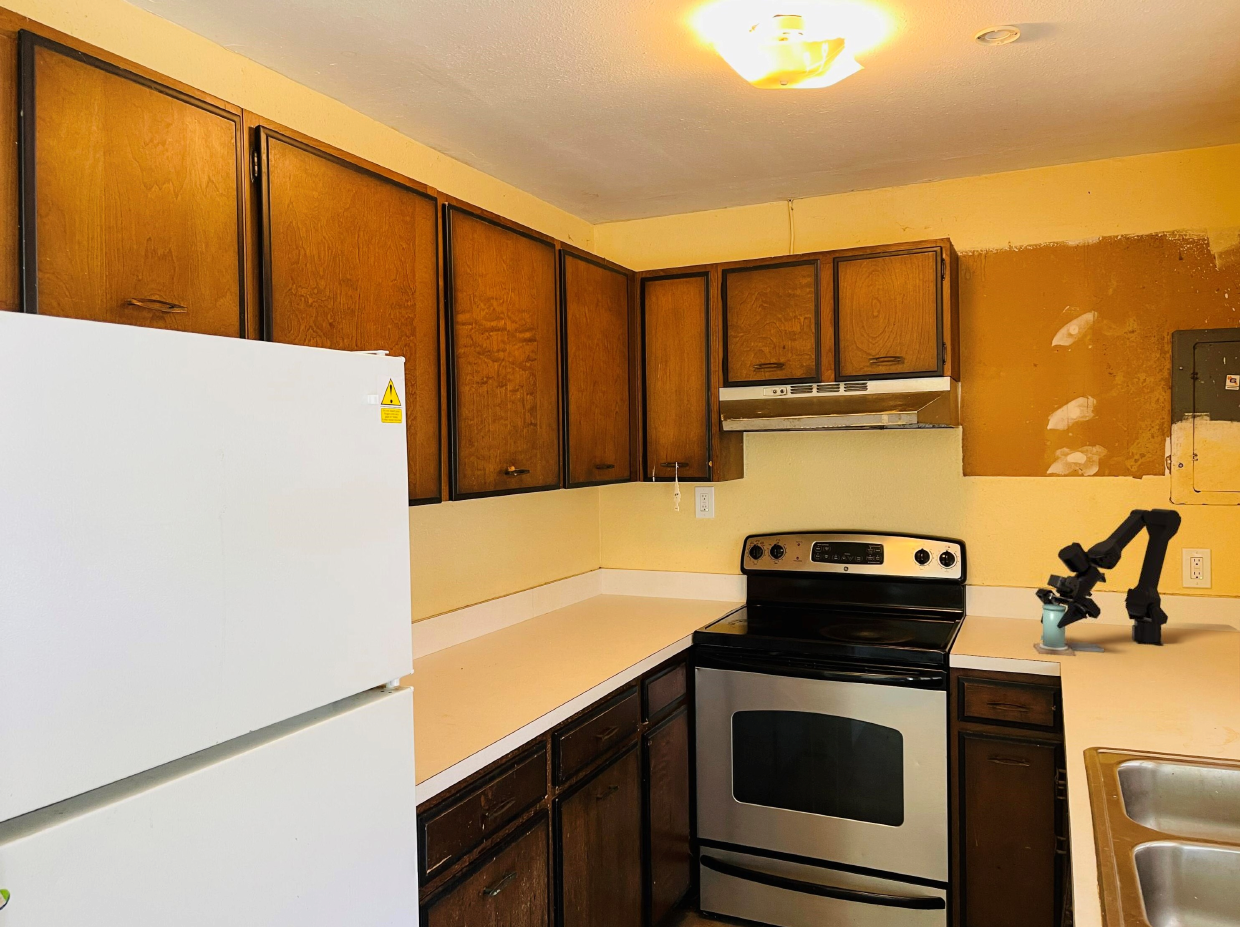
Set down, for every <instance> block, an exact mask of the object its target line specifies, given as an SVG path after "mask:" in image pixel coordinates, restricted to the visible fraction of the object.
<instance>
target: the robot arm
mask: <svg viewBox="0 0 1240 927" xmlns="http://www.w3.org/2000/svg"><path fill="white" fill-rule="evenodd" d="M1181 524H1182V516H1181V515H1180V514H1179V512H1178V510H1176V509H1166V508H1165V509H1164V508H1152V509H1150V510H1149V509H1141V508H1135V509H1132V510H1131V511H1130V513H1129V514H1128V516H1127V517H1126V518H1125V519H1124V521H1122V522H1121V524H1119V526H1117V528H1116V529H1115V530H1114V531H1113V532H1112V533H1111V534H1110V535H1109V536H1108V537H1107V538H1105V539H1104V540H1102V541H1099V542H1097V543H1095V544H1093V546H1091V547H1089V549H1087V551H1086V550H1084V548H1083V547H1082V545H1081V543H1080V542H1077V541H1076V542H1074V541H1073V542H1072V543H1071V544H1069V545H1067V546H1065V547H1063V548H1061V549H1060V550H1059V551H1058V553H1057V557H1058V559H1059V560H1060V561H1061V562H1062V564H1063V565H1064V567H1066V568H1067V569H1068V571H1069V572H1070V573H1074V575H1067V576H1062V575H1058V574H1054V573H1052V574H1050V575H1049V579H1048V581H1047V583H1046V584H1047V586H1048V587H1052V588H1054V589H1055V592H1054V591H1053V590H1052V589H1049V588H1044V587H1042V588H1041V587H1039V588H1038V589H1037V591H1036V592H1035V593H1034V595H1035V596H1036V597H1037V598H1038V599H1039V600H1040V602H1041V603H1042V605H1045V604H1054V605H1062V606H1065V607H1066V610H1065V614H1064V615H1063V617H1062V618H1061V619H1060V621H1059V623H1058V625H1057V627H1058V628H1059V629H1060V628H1062V627H1065V628H1066V627H1067V626H1069V625H1071V624H1074V623H1077V622H1079V621H1081V620H1084V619H1086V620H1087V619H1088V618H1091V619H1095V620H1097V619H1098V618H1099V617H1100V615H1101V607H1099V605H1098V603H1096V602H1095V601H1094V600H1093V598H1091V597H1092V596H1093V593H1092V592H1091V591H1092V590H1093V589H1094V587H1095V586H1096V584H1098V583H1103V584H1106V583H1107V578H1106V573H1105V572H1101V570H1102V569H1104V570H1108V571H1109V570H1110V571H1111V570H1113V569H1114V568H1116V567H1117V565H1118V563H1119V562H1120V560H1121V559H1122V554H1123V553H1122V552H1123V550H1124V549H1126V547H1127V546H1128V545H1129V544H1130V543H1131V542H1132V541H1133V539H1135V538H1136V536H1138V535H1139V533H1141V531H1142V530H1143V529H1144V528H1145V529H1146V532H1147V534H1148V541H1147V544H1146V549H1145V553H1144V557H1143V561H1142V566H1141V570H1140V574H1139V577H1138V578H1139V579H1138V582H1137V585H1136V586H1135V587H1134V588H1130V587H1129V588H1128V589H1127V592H1126V598H1125V599H1124V602H1125V605H1124V606H1125V609H1126V611H1127V615H1128V618H1129V620H1133V624H1132V625H1131V639H1132V641H1134V643H1136V644H1137V645H1151V646H1152V645H1153V646H1164V643H1163V642H1162V626H1163V625H1166V624H1167V622H1168V619H1169V615H1167V613H1166V612H1165V611H1164V610H1163V608H1161V605H1162V604H1161V602H1162V597H1161V595H1160V592H1159V590H1158V587H1159V583H1160V579H1161V576H1162V571H1163V568H1164V562H1165V558H1166V554H1167V549H1168V546H1169V542H1170V540H1171V539H1173V538H1174V536H1175V535H1176V534H1177V533H1178V531H1179V529H1180V526H1181ZM1099 569H1101V570H1099ZM1056 593H1057V594H1058V595H1057V594H1056ZM1040 623H1041V625H1043V613H1042V615H1041V618H1040Z"/></svg>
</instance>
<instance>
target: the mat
mask: <svg viewBox="0 0 1240 927" xmlns="http://www.w3.org/2000/svg"><path fill="white" fill-rule="evenodd" d="M1065 645H1068V646H1069V647H1070V648H1071V649H1072V650H1073V651H1074V652H1075V651H1077V652H1092V653H1093V652H1094V653H1105V650H1104V648H1103V647H1102V646H1100V645H1099V644H1098V643H1093V642H1090V643H1089V642H1074V641H1073V642H1071V641H1065Z"/></svg>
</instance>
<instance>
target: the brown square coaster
mask: <svg viewBox="0 0 1240 927" xmlns="http://www.w3.org/2000/svg"><path fill="white" fill-rule="evenodd" d="M1033 648H1034V649H1035V650H1036V652H1037V653H1038V654H1041V655H1057V656H1069V657H1070V656H1071V657H1073V656H1075V655H1076V652H1075V651H1073V650H1072V649H1071V648H1070V647H1069V646H1068V645H1067V644H1065V647H1064V648H1052V647H1046V646H1043V642H1042V643H1033Z"/></svg>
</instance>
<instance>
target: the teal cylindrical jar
mask: <svg viewBox="0 0 1240 927" xmlns="http://www.w3.org/2000/svg"><path fill="white" fill-rule="evenodd" d="M1041 608H1042V614H1043V624H1042V634H1040V641H1042V643H1043V646H1046V647H1052V648H1064V647H1065V645H1066V626H1065V627H1062V628H1060V629H1059V628H1058V627H1057V625H1058V623H1059V621H1060V619H1061V618H1062V617H1063V615H1064V614H1065V612H1066V611H1067V606H1066V605H1063V604H1060V605H1054V604H1045V605H1044V604H1042V605H1041Z"/></svg>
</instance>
